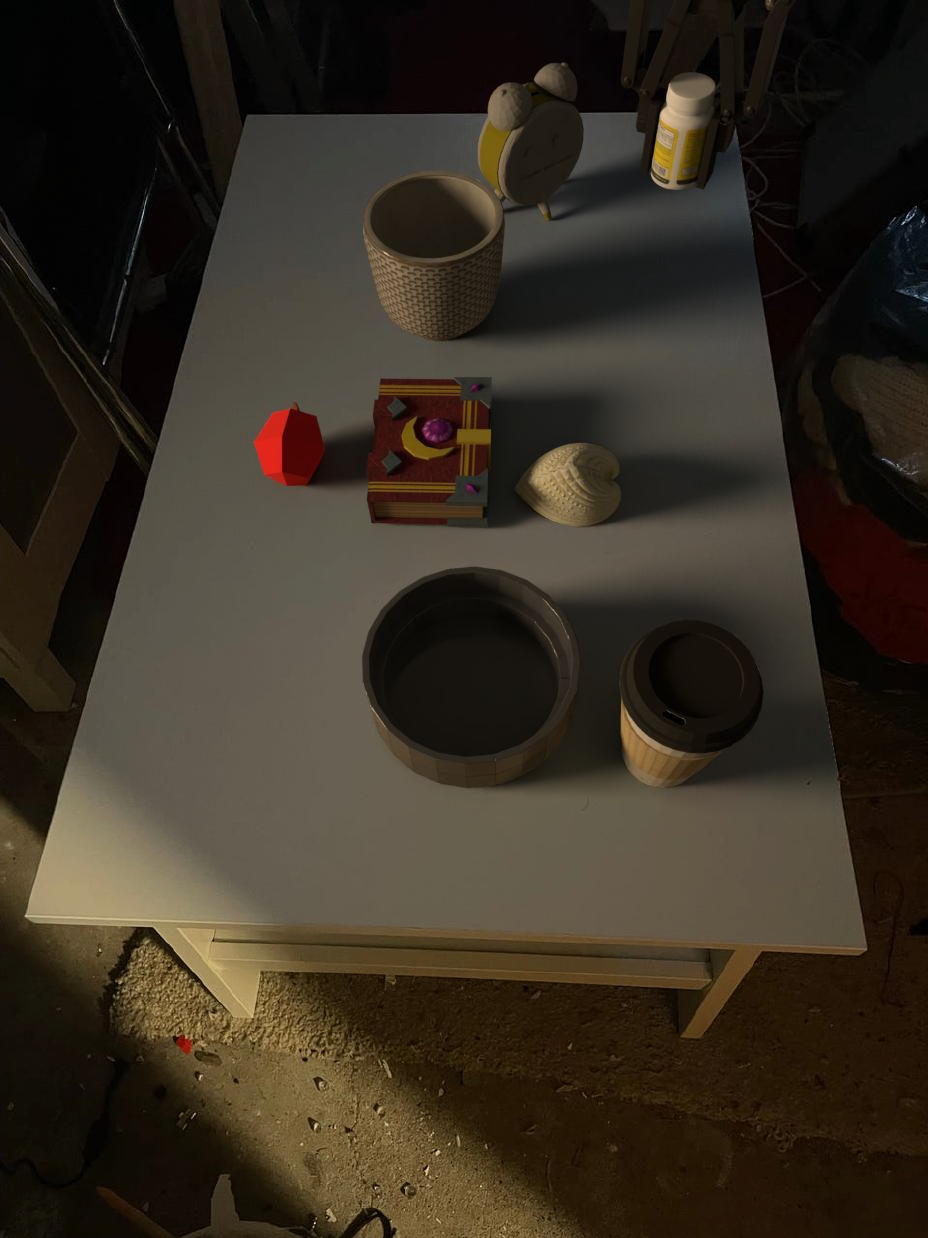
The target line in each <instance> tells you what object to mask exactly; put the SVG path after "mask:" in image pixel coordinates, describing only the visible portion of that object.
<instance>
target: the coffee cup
mask: <svg viewBox="0 0 928 1238" xmlns="http://www.w3.org/2000/svg"><path fill="white" fill-rule="evenodd" d="M618 677H619V678H618V679H619V680H618V681H619V693H620V697H621V705H620V706H621V707H620V740H621V756H622V759H623V763H624V764H625V766H626V769H627V770H628V771H629V772H630V774H631V775H632V776H633V777H634V778H635V779H636V780H638V781H640V782H641V783H643V784H645V785H647V786H650V787H654V788H660V789H661V788H662V789H667V788H673V787H676V786H678V785H681V784H682V783H684V782H685V781H687V780H688V779H689V778H691V776H693V775H695V774H697V773H698V772H700V771H701V770H702V769H704V767H706V765H708V764H709V763H710V762H711V761H713V760H714V759H715V758H716V757H717V756H719V755H720V754H721V753H722V752H723V751H725V750H726V749H728V748H731V747H732V746H734V745H735V744H738V743H739V742H740V741H742V740H743V739H744V738H745V737H747V735H748V734H749V733H750V732H751V731H752V730H753V728H754V726H755V725H756V723H757V721H758V720H759V717H760V714H761V711H762V709H763V703H764V685H763V677H762V675H761V672H760V669H759V666H758V664H757V661H756V660H755V658H754V656H753V654H752V652H751V651H750V649H749V647H747V646H746V644H745V643H744V642H743V641H742V640H741V639H740V638H738V637H737V636H736V635H735V634H734V633H733V632H732V631H729V630H727V629H726V628H724V627H722V626H721V625H718V624H715V623H713V622H709V621H706V620H701V619H681V620H675V621H674V620H673V621H671V622H667V623H664V624H662V625H658V626H656V627H654V628H652V629H651V630H649V631H647V632H645V633H644V634H642V635H641V637H639V638H638V639H637V640H636V641H635V642H634V643H633V644H632V646H631V647H630V648H629V650H628V651H627V653H626V654H625V656H624V659H623V661H622V664H621V666H620V671H619V676H618Z"/></svg>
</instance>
